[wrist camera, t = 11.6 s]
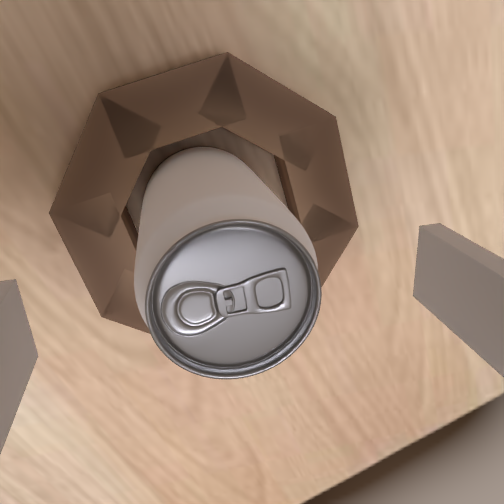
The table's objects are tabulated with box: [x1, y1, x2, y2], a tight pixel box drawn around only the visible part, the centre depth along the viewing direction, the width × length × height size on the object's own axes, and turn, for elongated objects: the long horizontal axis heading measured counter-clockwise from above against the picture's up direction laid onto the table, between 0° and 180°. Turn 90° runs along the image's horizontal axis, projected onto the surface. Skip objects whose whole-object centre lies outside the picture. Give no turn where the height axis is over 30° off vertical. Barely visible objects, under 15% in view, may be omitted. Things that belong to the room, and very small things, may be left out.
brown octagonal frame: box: [49, 52, 358, 334], centre depth 24 cm, size 14×14×2 cm
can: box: [134, 147, 321, 379], centre depth 20 cm, size 6×6×12 cm
